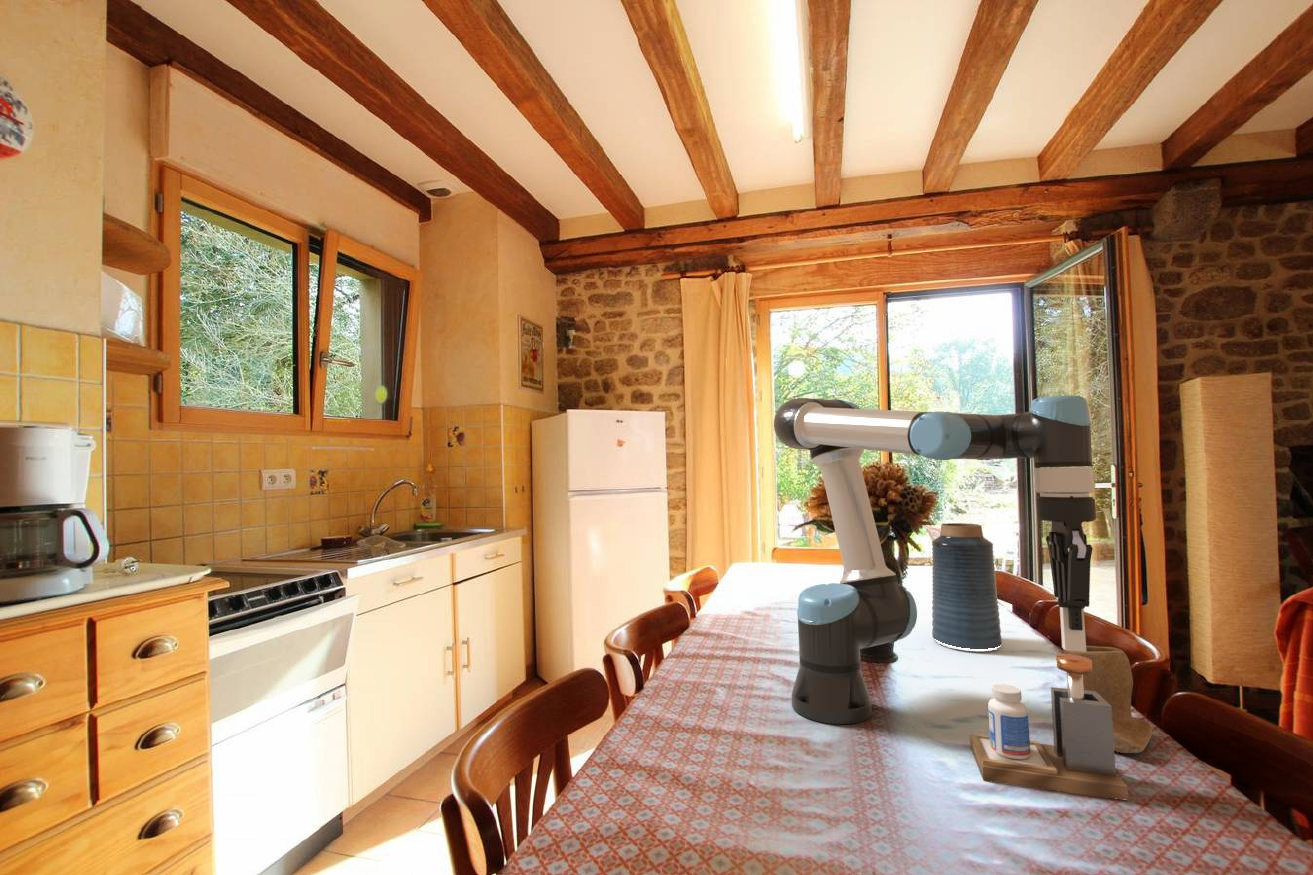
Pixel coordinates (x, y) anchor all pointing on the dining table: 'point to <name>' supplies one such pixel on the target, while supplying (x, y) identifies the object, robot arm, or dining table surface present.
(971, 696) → the dining table surface
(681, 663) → the dining table surface
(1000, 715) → the pill bottle
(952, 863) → the dining table surface
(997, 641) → the vase
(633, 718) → the dining table surface
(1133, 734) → the tan suede boot
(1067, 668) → the orange capped plunger
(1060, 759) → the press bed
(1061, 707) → the press frame
